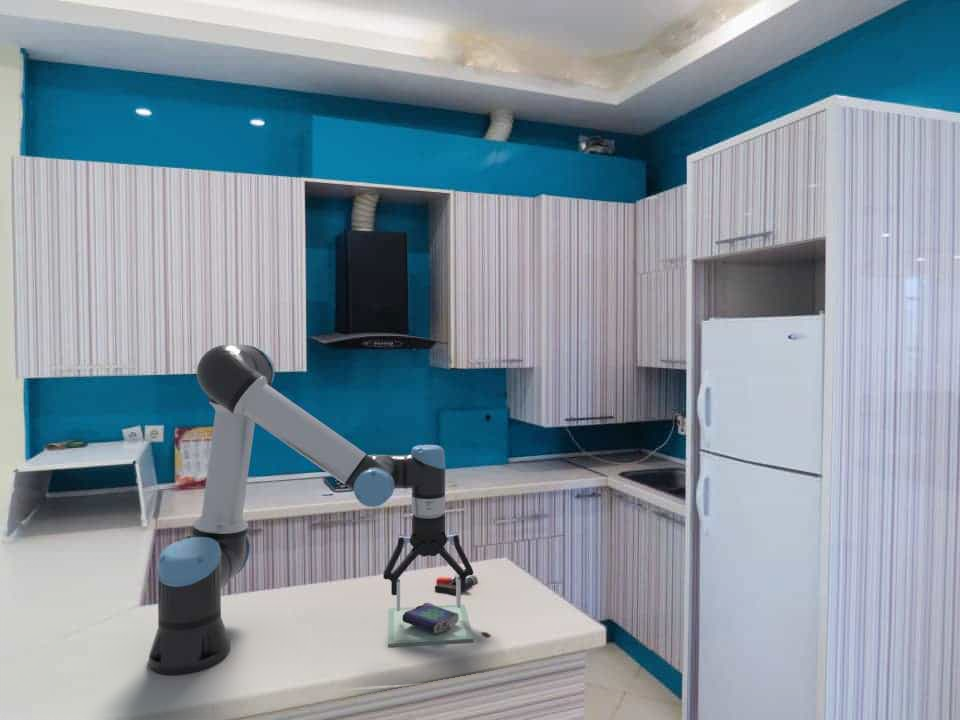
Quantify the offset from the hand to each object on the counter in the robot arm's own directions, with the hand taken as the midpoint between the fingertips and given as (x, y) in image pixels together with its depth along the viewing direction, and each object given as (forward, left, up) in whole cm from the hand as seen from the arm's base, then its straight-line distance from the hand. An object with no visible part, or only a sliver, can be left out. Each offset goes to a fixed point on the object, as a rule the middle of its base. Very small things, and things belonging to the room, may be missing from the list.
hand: (428, 607), depth 143 cm
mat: (0, -1, -4) cm, 4 cm away
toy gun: (+8, +21, -4) cm, 23 cm away
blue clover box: (-3, -1, -4) cm, 5 cm away
